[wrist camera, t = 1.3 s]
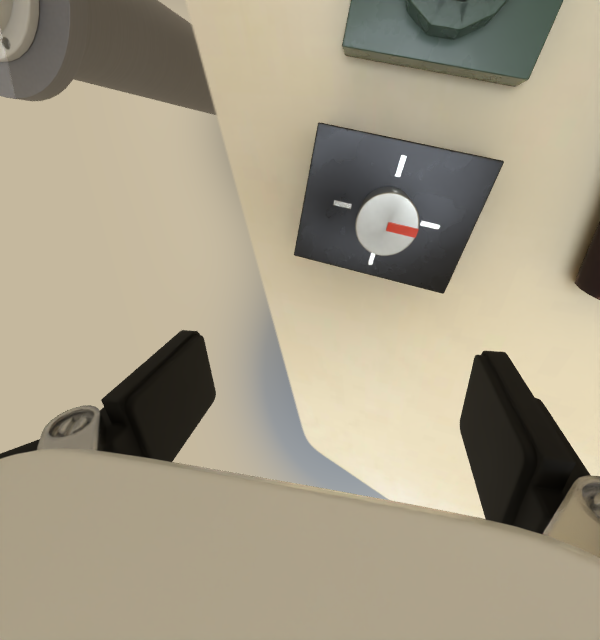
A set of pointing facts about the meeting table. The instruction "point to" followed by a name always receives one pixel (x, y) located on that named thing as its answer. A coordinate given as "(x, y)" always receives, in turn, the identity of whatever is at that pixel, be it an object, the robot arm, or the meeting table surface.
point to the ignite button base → (453, 35)
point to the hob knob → (387, 221)
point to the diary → (591, 268)
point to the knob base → (403, 173)
